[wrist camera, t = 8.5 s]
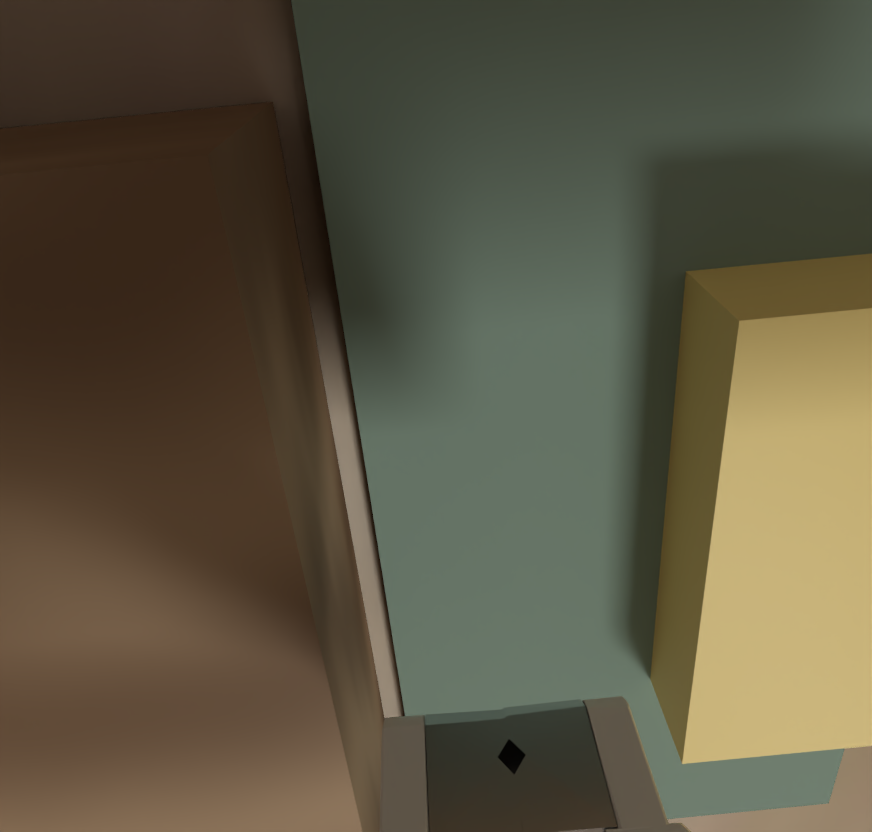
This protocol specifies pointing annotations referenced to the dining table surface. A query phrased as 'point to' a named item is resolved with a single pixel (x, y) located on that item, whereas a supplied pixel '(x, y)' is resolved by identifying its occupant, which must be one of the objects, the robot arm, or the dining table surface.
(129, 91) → the dining table surface
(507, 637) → the mat
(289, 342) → the board
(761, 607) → the yellow block
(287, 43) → the dining table surface
